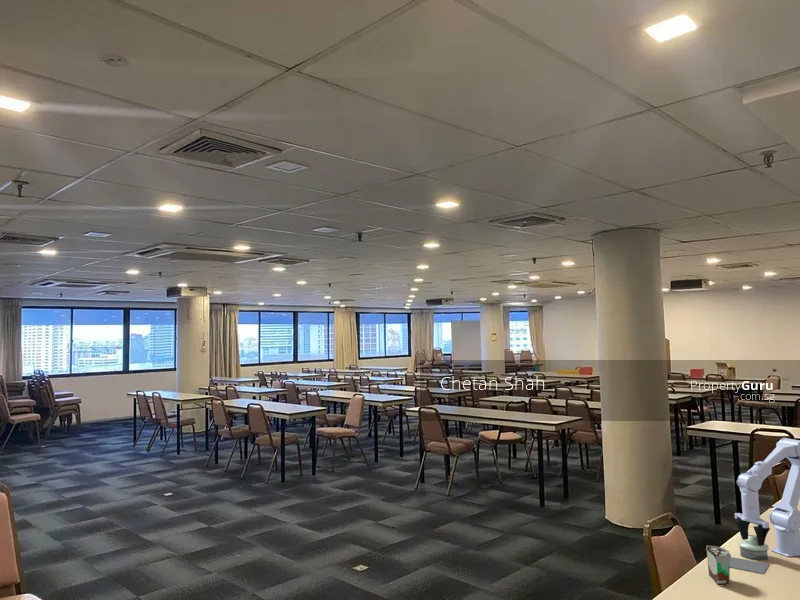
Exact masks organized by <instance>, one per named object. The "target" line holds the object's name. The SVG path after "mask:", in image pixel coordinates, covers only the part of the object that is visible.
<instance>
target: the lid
mask: <svg viewBox="0 0 800 600" xmlns="http://www.w3.org/2000/svg"><path fill="white" fill-rule="evenodd" d="M737 544H738V546H739V548H740V547H741V548H744V549H747V550H752V551H767V552H768V551H769V545H768V544H767V543H765V542H764V545H763V546H759V545H758V543H757V536H756V534H748V539H747V540H743V539H742V540H739V541H738V542H737Z"/></svg>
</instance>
